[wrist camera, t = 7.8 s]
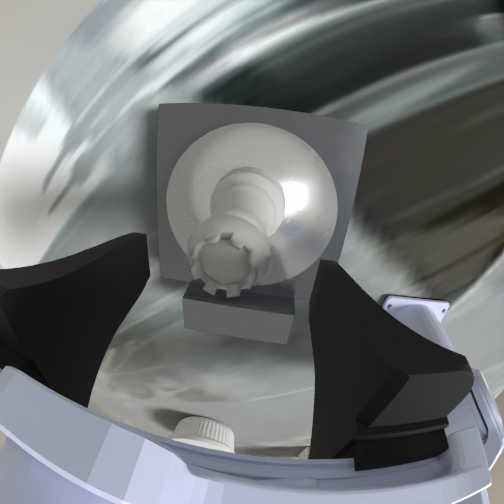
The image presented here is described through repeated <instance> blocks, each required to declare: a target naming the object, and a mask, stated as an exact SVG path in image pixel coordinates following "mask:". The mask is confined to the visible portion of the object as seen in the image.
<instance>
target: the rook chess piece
mask: <svg viewBox="0 0 504 504" xmlns="http://www.w3.org/2000/svg"><path fill="white" fill-rule="evenodd" d="M286 202H287V201H286V197H285V193H284V190H283V187H282V186H281V184H280V183H279V182H278V180H277V179H276V178H275V177H274V176H273V175H272V174H270V173H268V172H266V171H265V170H263V169H261V168H255V167H247V166H244V167H241V168H237V169H234V170H231V171H229V172H228V173H227V174H226V175H224V176H223V177H222V178H221V179H220V180H219V182H218V183H217V185H216V187H215V189H214V191H213V193H212V195H211V201H210V213H211V216H210V217H209V218H207V219H205V220H203V221H202V222H201V223H200V224H198V225H197V226H196V227H195V228H193V230H192V232H191V235H190V237H189V239H188V241H187V257H188V260H189V262H190V264H191V266H190V268H189V271H190V273H191V276H192V278H193V280H196V279H198V278H201V279H202V280H203V281H204V282H205V285H204V288H203V290H205V291H207V292H208V293H210V294H212V295H215V293H216V290H217V289H223V290H226V293H227V298H228V297H235V296H240V292H241V289H247V288H249V289H251V287H252V286H253V285H254V284H256V283H258V282H259V281H261V279H262V278H263V276H264V275H265V273H266V272H267V271H268V269H269V264H270V257H271V253H270V249H269V246H268V242H267V237H269V236H270V235H272V234H273V233H275V232H276V230H277V229H278V227H279V226H280V224H281V222H282V221H283V218H284V215H285V208H286Z"/></svg>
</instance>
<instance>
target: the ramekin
mask: <svg viewBox="0 0 504 504" xmlns="http://www.w3.org/2000/svg"><path fill="white" fill-rule="evenodd" d="M169 439H172V440H175V441H179V442H183V443H187V444H191V445H196V446H200V447H205V448H209V449H215V450H220V451H226V452H232V453H235V452H234V434H233V432H232V430H231V429H230V428H229V427H228V426H226V425H225V424H223V423H221V422H219V421H216V420H213V419H209V418H205V417H197V416H190V417H186V418H184V419H182V420H180V421H179V423H178V425H177V426H176V428H175V430H174V432H173V434H172V435H171V436H170V437H169Z"/></svg>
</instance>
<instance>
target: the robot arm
mask: <svg viewBox="0 0 504 504" xmlns="http://www.w3.org/2000/svg"><path fill="white" fill-rule="evenodd" d="M149 277H150V269H149V259H148V248H147V236H146V234H141V233H130V234H126V235H123V236H120V237H118V238H115V239H112V240H110V241H107V242H105V243H102V244H100V245H97V246H95V247H92V248H90V249H87V250H84V251H82V252H79V253H77V254H74V255H71V256H68V257H65V258H61V259H58V260H55V261H51V262H46V263H42V264H37V265H33V266H27V267H21V268H13V269H0V430H1V431H2V432H4V433H5V434H6V435H7V436H8V437H7V439H6V441H5V443H4V445H3V446H2V448H1V450H0V504H490V502H489V497H488V492H487V487H489V486H490V485H491V484H492V481H491V476H490V470H491V468H492V467H493V465H494V463H495V462H496V460H497V459H498V457H499V455H500V454H501V452H502V450H503V448H504V428H503V425H502V419H501V415H500V413H499V410H498V407H497V405H496V402H495V400H494V397H493V395H492V393H491V390H490V388H489V386H488V384H487V382H486V380H485V378H484V376H483V374H482V373H481V371H480V370H477V369H475V370H474V369H473V368H470V365H469V363H468V361H467V359H466V357H465V356H463V355H461V354H458V353H456V352H455V350H454V348H453V346H452V344H451V342H450V340H449V338H448V336H447V334H446V332H445V331H444V329H443V327H442V325H441V323H440V322H441V320H442V318H443V316H444V315H445V313H446V311H447V309H448V307H449V303H448V302H447V301H439V300H429V299H419V298H409V297H400V296H389V297H387V298H386V300H385V302H384V304H383V307H381V306H380V305H379V304H377V303H376V302H375V301H374V300H373V299H372V298H371V297H370V296H369V295H368V294H367V293H366V292H365V291H364V290H363V289H362V288H361V287H360V286H359V285H358V284H357V283H356V282H355V281H354V280H353V279H352V278H351V277H350V276H349V275H348V273H347V272H346V271H345V270H344V269H343V268H342V267H341V266H340V265H339V264H338V263H337V262H336V261H331V260H324V259H320V263H319V267H318V271H317V274H316V278H315V282H314V286H313V289H312V293H311V297H310V302H309V322H310V331H311V339H312V348H313V356H314V365H315V397H314V414H313V426H312V436H311V444H310V451H309V458H308V459H287V458H273V457H262V456H253V455H245V454H238V453H232V452H226V451H220V450H215V449H209V448H205V447H200V446H196V445H191V444H187V443H183V442H179V441H175V440H172V439H168V438H165V437H161V436H158V435H155V434H152V433H148V432H145V431H142V430H139V429H137V428H134V427H131V426H128V425H126V424H123V423H120V422H118V421H115V420H113V419H111V418H108V417H106V416H103V415H101V414H99V413H96V412H94V411H92V410H90V409H88V404H89V400H90V396H91V392H92V389H93V385H94V382H95V379H96V376H97V373H98V370H99V368H100V365H101V363H102V360H103V358H104V355H105V353H106V351H107V349H108V346H109V344H110V342H111V340H112V338H113V336H114V334H115V333H116V331H117V329H118V328H119V326H120V324H121V323H122V321H123V320H124V318H125V317H126V315H127V314H128V312H129V311H130V309H131V308H132V307H133V305H134V304H135V302H136V301H137V299H138V298H139V296H140V295H141V293H142V291H143V289H144V287H145V285H146V283H147V281H148V279H149ZM389 304H390V305H389ZM387 305H389V306H387ZM484 439H485V441H484V442H482V441H483V440H484Z"/></svg>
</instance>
